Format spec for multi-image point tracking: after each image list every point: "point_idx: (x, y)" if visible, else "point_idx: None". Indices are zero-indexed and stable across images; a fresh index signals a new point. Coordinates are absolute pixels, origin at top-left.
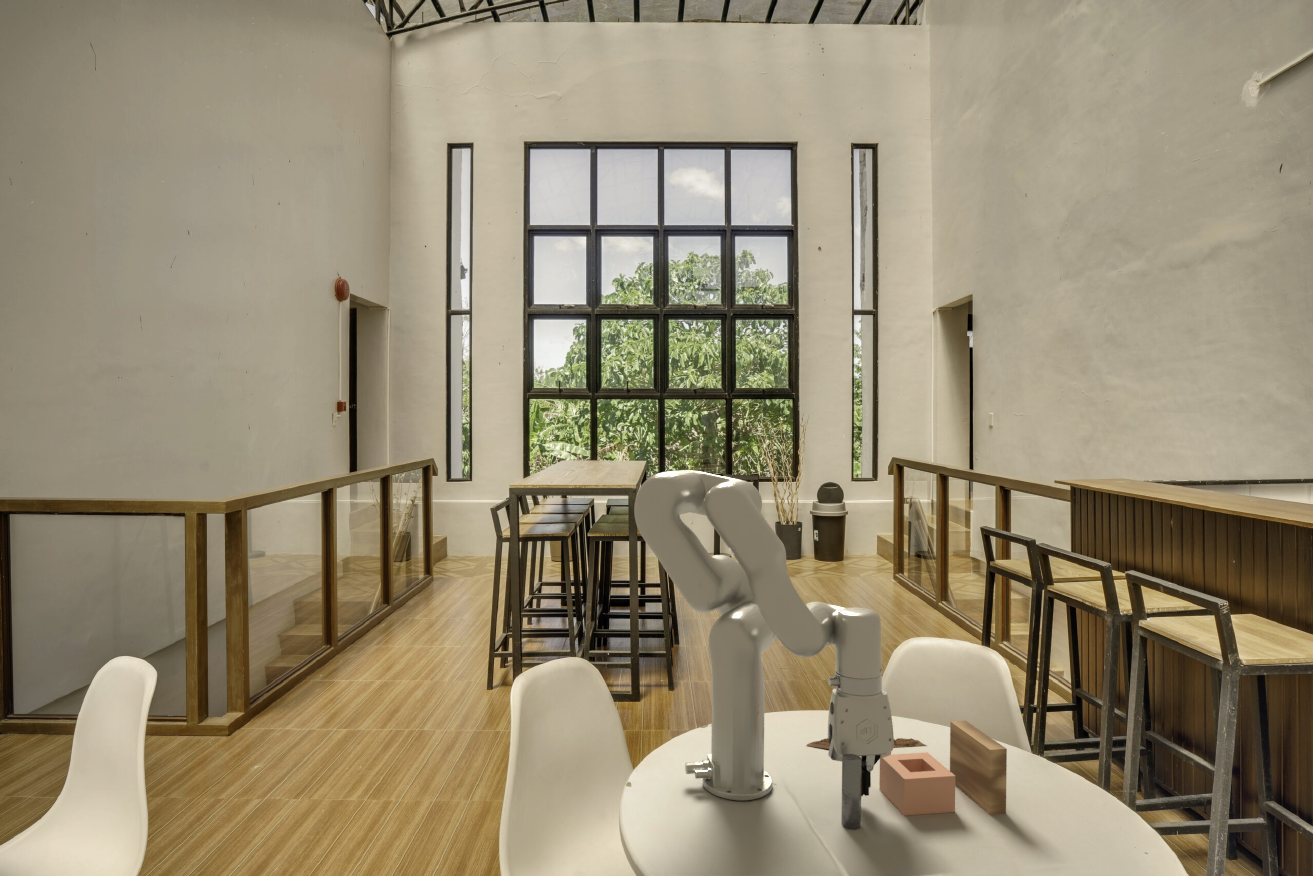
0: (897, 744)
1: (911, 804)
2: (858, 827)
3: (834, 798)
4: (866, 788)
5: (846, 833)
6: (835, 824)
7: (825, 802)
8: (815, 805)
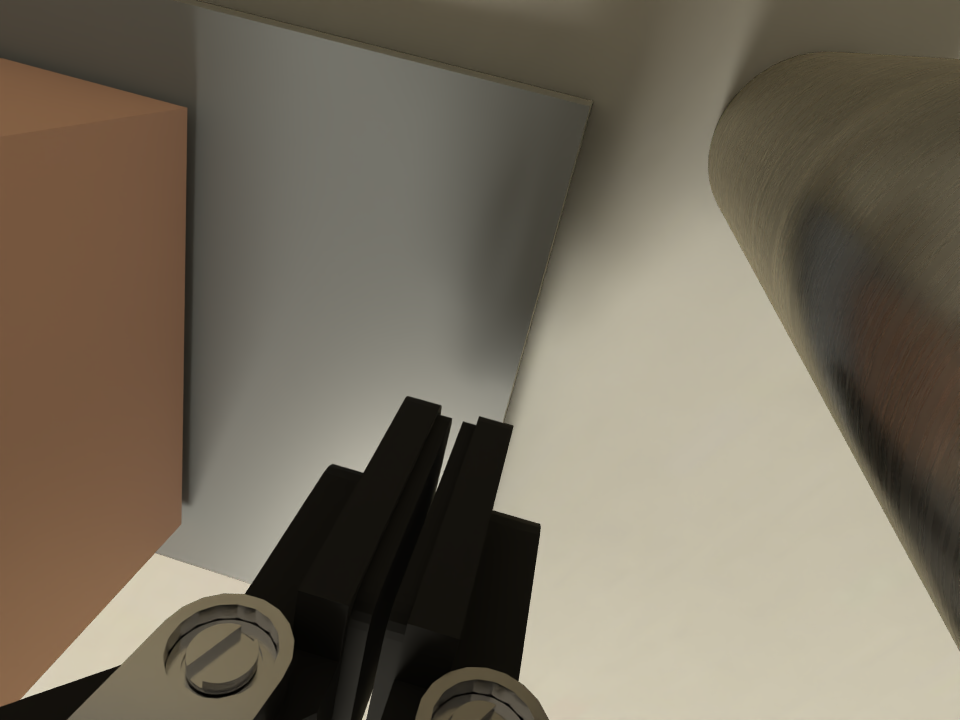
0: None
1: (31, 93)
2: (831, 55)
3: (533, 605)
4: (413, 446)
5: None
6: None
7: (635, 598)
8: (740, 603)
